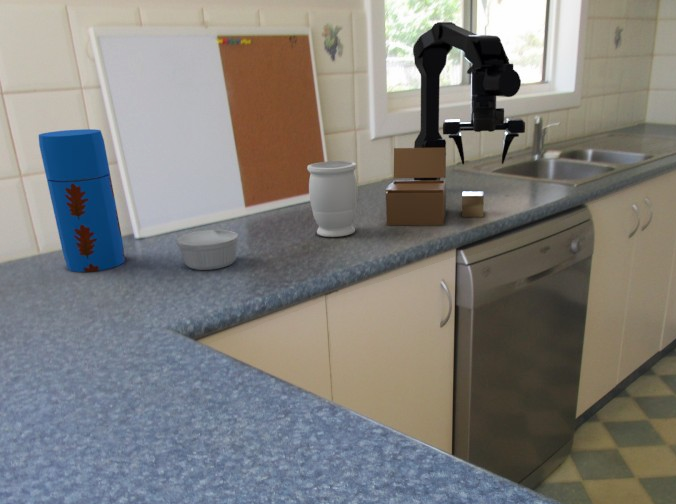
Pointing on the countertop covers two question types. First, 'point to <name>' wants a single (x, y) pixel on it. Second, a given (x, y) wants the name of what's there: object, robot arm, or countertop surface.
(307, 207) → the countertop surface
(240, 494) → the countertop surface
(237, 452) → the countertop surface
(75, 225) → the thermos
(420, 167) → the flap
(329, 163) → the jar
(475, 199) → the block
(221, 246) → the ramekin
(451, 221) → the countertop surface
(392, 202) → the carton
